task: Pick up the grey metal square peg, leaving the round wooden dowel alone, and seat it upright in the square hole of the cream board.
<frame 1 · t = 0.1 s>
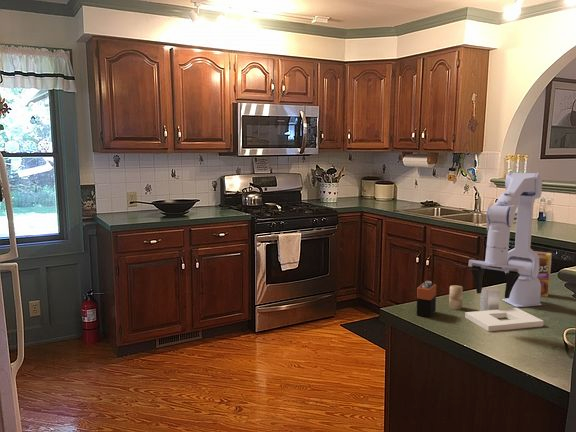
hand: (492, 295, 139), 11 cm above the counter, tool pointing down, fingers open, 7 cm apart
battery: (426, 314, 156), on the counter
round dowel: (455, 307, 161), on the counter
candy box: (534, 294, 175), on the counter
bore board: (503, 321, 148), on the counter
square peg: (489, 310, 158), on the counter
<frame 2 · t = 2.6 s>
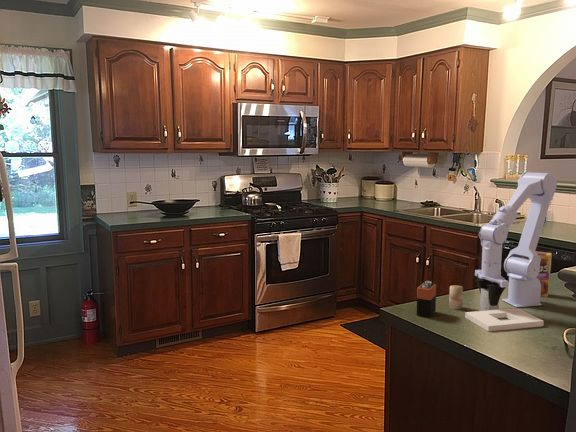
hand: (489, 303, 158), 2 cm above the counter, tool pointing down, fingers closed on square peg, 4 cm apart
square peg: (489, 310, 158), on the counter, touching gripper
everything else where it was.
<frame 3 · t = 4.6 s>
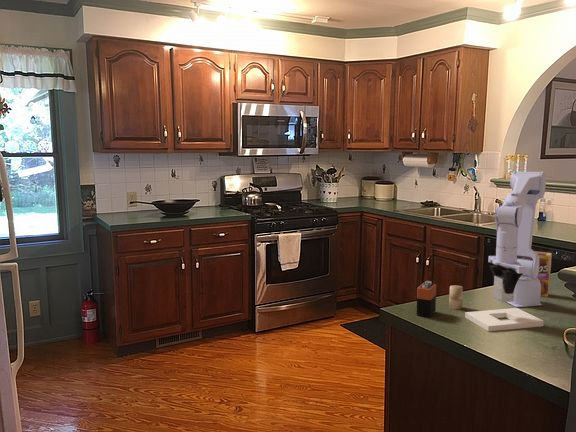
hand: (504, 291, 147), 9 cm above the counter, tool pointing down, fingers closed on square peg, 4 cm apart
square peg: (503, 299, 147), point 7 cm above the counter, touching gripper
everything else where it was.
when the fingers open (3 cm above the counter, at t = 6.7 s): square peg stays where it is, resting in bore board.
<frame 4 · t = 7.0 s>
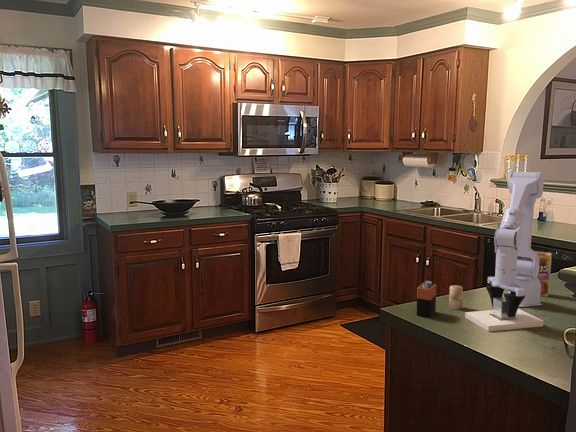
hand: (503, 312, 148), 3 cm above the counter, tool pointing down, fingers open, 7 cm apart
square peg: (502, 321, 148), resting in bore board
everything else where it was.
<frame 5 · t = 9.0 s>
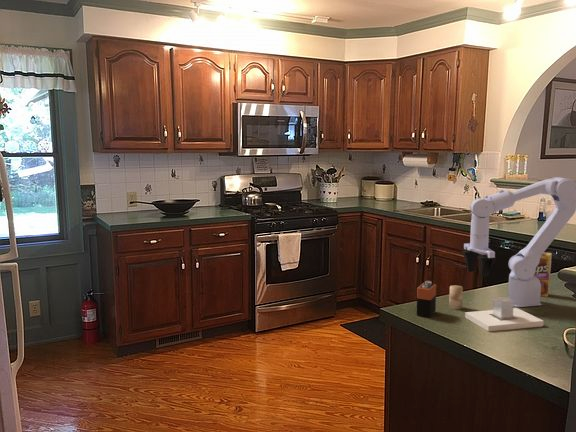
hand: (477, 274, 166), 9 cm above the counter, tool pointing down, fingers open, 7 cm apart
nothing on the counter moved.
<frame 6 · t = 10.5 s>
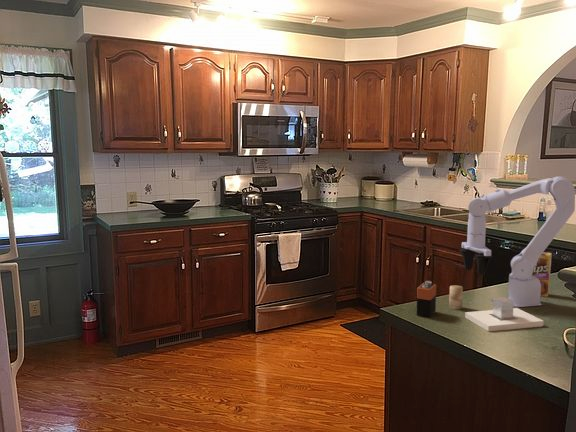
hand: (474, 272, 169), 9 cm above the counter, tool pointing down, fingers open, 7 cm apart
nothing on the counter moved.
at the end: square peg 0.3 cm off-centre on the bore board, point 0.0 cm above the bore board's base; square peg tilted 0°; round dowel moved 0.0 cm from its start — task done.
